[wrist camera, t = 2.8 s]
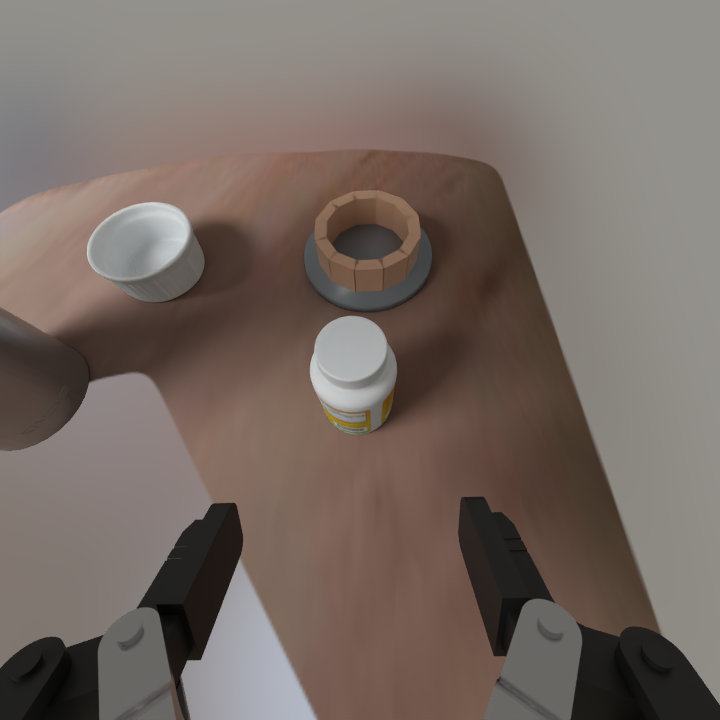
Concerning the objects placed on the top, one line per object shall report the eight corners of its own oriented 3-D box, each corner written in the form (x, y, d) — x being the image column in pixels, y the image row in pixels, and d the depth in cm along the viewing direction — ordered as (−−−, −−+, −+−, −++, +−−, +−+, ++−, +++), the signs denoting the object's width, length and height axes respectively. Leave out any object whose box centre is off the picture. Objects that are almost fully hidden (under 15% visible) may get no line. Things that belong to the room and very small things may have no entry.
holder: (281, 281, 32) (270, 251, 29) (344, 199, 37) (341, 164, 33) (396, 332, 30) (399, 307, 26) (450, 238, 34) (459, 204, 30)
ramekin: (217, 233, 35) (197, 198, 32) (204, 306, 32) (180, 276, 28) (131, 238, 36) (101, 203, 32) (109, 311, 32) (72, 282, 28)
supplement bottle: (369, 359, 29) (367, 289, 20) (405, 413, 27) (421, 361, 18) (312, 390, 28) (284, 331, 19) (345, 449, 26) (330, 413, 17)
